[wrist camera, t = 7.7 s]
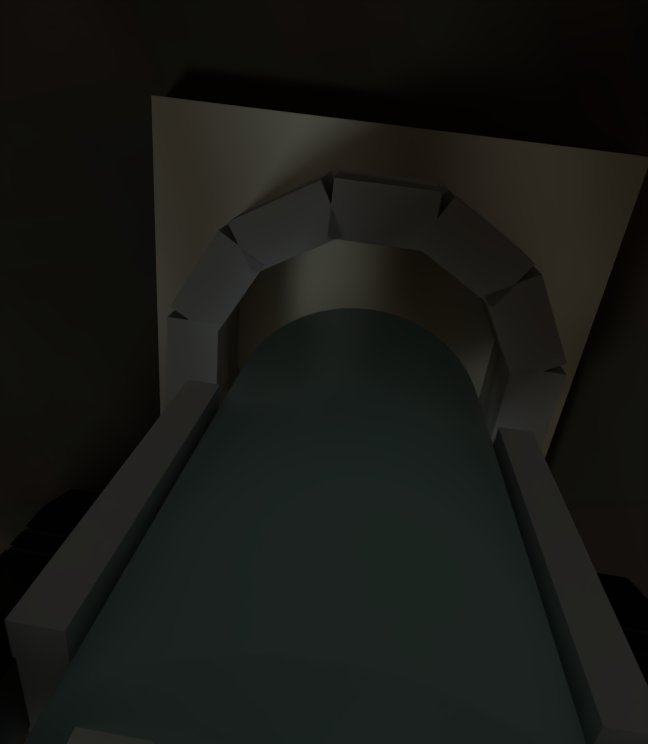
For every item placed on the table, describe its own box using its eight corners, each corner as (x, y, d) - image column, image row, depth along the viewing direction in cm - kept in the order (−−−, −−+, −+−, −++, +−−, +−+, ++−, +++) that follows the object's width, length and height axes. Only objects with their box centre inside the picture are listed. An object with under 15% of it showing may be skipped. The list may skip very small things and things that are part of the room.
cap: (228, 503, 15) (20, 1001, 7) (237, 290, 13) (-99, 672, 4) (450, 538, 15) (531, 1111, 6) (509, 328, 12) (798, 838, 4)
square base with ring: (171, 472, 22) (136, 530, 19) (164, 96, 16) (110, 92, 13) (509, 525, 22) (530, 595, 18) (636, 155, 16) (699, 164, 12)
